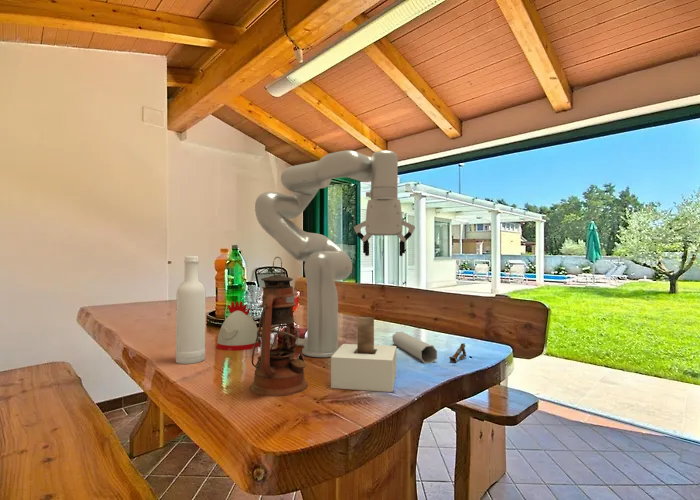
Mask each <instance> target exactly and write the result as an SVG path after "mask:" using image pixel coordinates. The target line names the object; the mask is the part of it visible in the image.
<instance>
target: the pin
mask: <svg viewBox="0 0 700 500" xmlns="http://www.w3.org/2000/svg"><path fill="white" fill-rule="evenodd" d="M356 340H357V343H356V344H357V354H374V345H375V318H374V317H371V316H359V317H357V339H356Z"/></svg>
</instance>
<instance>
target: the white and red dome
mask: <svg viewBox="0 0 700 500" xmlns="http://www.w3.org/2000/svg"><path fill="white" fill-rule="evenodd" d="M227 308H228V311H229V313H230V314H229V315H228V316H227V317H226V318H225V320H224V321H223V323H222V324H221V327H220V329H219V333H218V337H217V342H216V347H217V349H218V350H221V351H228V352H229V351H233V352H234V351H238V352H239V351H246V350H251V349H252V350H253V349H254V345H255V342H256V338H257V331H258V330H259V328H258V326H257V324H256V321H255V320H254V318H253V317H252V316H251V315H250V314H249V313H250V311H251V307H250V308H247V304H244V305H243V301H240V302H239V300H236V302H234V301H231V303H230V304H227ZM246 309H247V311H246ZM258 339H259V338H258ZM259 344H260V343H259V342H258V341H257V344H256V348H258V347H259ZM259 348H260V347H259Z"/></svg>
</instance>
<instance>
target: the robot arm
mask: <svg viewBox="0 0 700 500" xmlns="http://www.w3.org/2000/svg"><path fill="white" fill-rule="evenodd" d="M398 160H399V159H398V155H397V153H396V152H395V151H392V150H386V149H385V150H384V149H383V150H377V151H375V152H373V153H372V155H371V156H369V155H365V154H363V153H362V152H361V153H360V152H358V151H356V150H350V149H349V150H348V149H347V150H342V151H341V150H340V151H336V152H335V151H334V152H330V153H327V154H325V155H324V156H322V158H320V159H319V160H318V161H312V162H307V163H306V162H305V163H301V164H295V165H291V166H288V167H287V168H285V169H284V170H283V171H282V172H281V175H280V182H281V185H282V186H283V187H284V188H285V189H286V190H287V191H289V192H291V193H290V194H288V193H282V192H276V191H266V192H262V193H261V194H259V195H258V197H257V198H256V200H255V203H254V211H255V217H256V220H257V221H258V224H259V225H260V227H261V228H262V229H263V230H264V231H265V232H266V233H267V234H268V235H269V236H270V237H271V238H272V239H274V240H275V241H276V242H277V244H279V245H280V246H281V247H282V248H283V249H284V250H285V251H286V252H287V253H288V254H289V255H290V256H291V257H292V258H293V259H294V260H296V261H299V262H304V267H303V268H304V276H305V281H306V282H305V283H306V290H307V291H306V293H307V294H306V295H307V296H306V298H307V302H306V303H307V305H306V306H307V307H306V308H307V313H306V314H307V325H306V326H307V327H306V330H307V331H306V333H307V335H306V337H304V338H300V337H299V338H298V343H297V342H296V343H295V345H296V344H297V345H296V346H303V347H302V349H301V354H302V355H303V356H307V357H312V358H331V357H332V356H333V354H334V353H335V352H336V351H337V350H338V349H339V348H340V347H341V345H340V346H339V343H338V342H339V340H338V339H339V338H338V337H339V330H338V329H339V317H338V316H339V299H338V298H339V296H338V295H339V294H338V289H337V286H336V281H343V280H345V279H347V278H348V277H349V276H350V275H351V274H352V272H353V263H352V260H351V258H350V256H349V255H348V254H347V253H346V252H345V251H344V250H343V249H342V248H340V247H339V246H338V245H337V244H336V243H335V242H333V240H331V239H330V238H328V236H326V235H323V234H320V233H315V232H307V231H304V230H303V229H302V228H300V227H299V226H298V225H297V224H296V223H295V222H294V221H292V220H293V219H296V218H298V217H299V216H300V215H301V214H302V213H303V212H304V211H305V210H306V208H307V207H308V206H309V204H310V203H311V201H312V200H313V199H314V198H315V196H316V195H317V193H318V192H319V190H320V189H325V188H328V186H330V184H331V182H332V180H333V179H338V178H339V179H340V178H348V179H353V180H355V181H358V182H361V183H370V190H369V191H366V192H365V197H366V198H370V199H368V200H367V205H366V212H365V220H363V221H362V222H360V223H358V224H357V225H354V226H353V229H354V231H355V234H356V236H357V237H358V238H359V239H360V240H361V241H362V243H363V245H362V249H363V250H362V252H363V254H364V256H365V257H369V256H370V242H369V240H370V238H372V236H373V237H374V236H376V237H377V236H381V237H382V236H397V238H399V239H400V240H399V243H398V244H399V246H398V247H399V249H398V250H399V253H398V254H399V257H403V254H405V253H406V241H407V240H409V238H411V236H412V235H413V233H414V231H415V230H416V227H415V225H413V224H411V223H409V222H407V221H406V220H403V215H402V205H401V200H400V199H398V197H399V196H398V194H399V193H398V192H399V191H398V189H399V188H398V187H399V186H398V185H399V184H398V183H399V182H398V178H399V177H398V175H399V172H398V169H399V168H398V166H399V165H398V162H399V161H398ZM291 219H292V220H291ZM403 226H404V227H405V228H407V229H408V231H407V233H405V234H404V235H403V234H402V232H403ZM362 228H365V233H366V234H363V233H362V231H361V229H362ZM296 341H297V340H296Z"/></svg>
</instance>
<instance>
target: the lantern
mask: <svg viewBox="0 0 700 500" xmlns="http://www.w3.org/2000/svg"><path fill="white" fill-rule="evenodd" d="M276 259H279V260H280V272H279V273H278V274H276V273H275V267H274V266H275V260H276ZM272 270H273V275H270V276H266V277H262V278H260V280H261V281H263V283H264V287H263V288H262V296H261V299H262V302H261V305H260V306H259V307H260V308H262V309H261V310H262V311H261V312H260V313H261V314H260V317H259V322H258V323H259V325H258V331H257V338H256V342H255V345H254V348H253V349H252V354H251V364H252V366H253V367H255V370H254V377H253V382H252V383H251V384H250V391H251V392H252V393H254V394H257V395H260V396H267V397H283V396H291V395H294V394H298V393H301V392H302V391H305V390H306V389H307V387H308V382H307V381H306V380H305V369H306V367H307V366H306V365H307V364H306V362H305V358H304V356H305V355H304V354H303V353H300V354H299V355H298V357H297V358H295V354H296V347H297V346H298V345H297V344H295V343H296V342H297V343H298V338H300V335H301V334H300V332H301V330H298V328H297V327H296V326H295V320H294V318H295V317H294V307H296V306H297V303H296V302H295V294H294V287H293V286H291V285H290V282H291V281H293V280H294V279H293V278H292V277H289V276H288V277H287V276H285V275H282V272H283V261H282V258H281V257H279V256H275V257H274V259H273V262H272ZM272 325H274V326H272ZM281 327H284V330H280V328H281ZM275 328H278V329H275ZM271 333H275V337H274V339H273V342H272V343H271ZM278 335H282V339H281V345H280V346H276V347H275V342H276V340H277V337H278ZM258 338H259V339H258ZM296 340H297V341H296ZM257 341H258V342H259V343H260V344H259V348H260V356H258V357H257V361H256V363H255V364H254V357H255V351H256V348H257V347H256V344H257ZM273 347H275V348H273Z"/></svg>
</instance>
